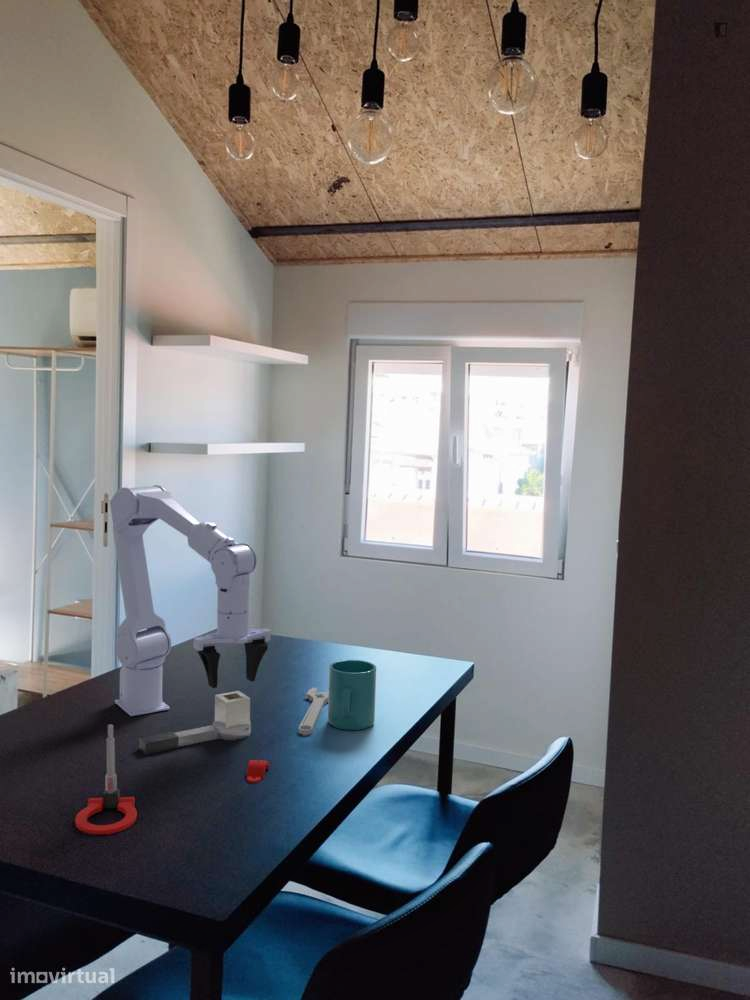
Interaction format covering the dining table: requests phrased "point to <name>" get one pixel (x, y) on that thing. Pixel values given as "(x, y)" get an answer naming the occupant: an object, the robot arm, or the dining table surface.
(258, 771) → the pipe clamp
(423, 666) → the dining table surface
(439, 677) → the dining table surface
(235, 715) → the socket
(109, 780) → the tow hook
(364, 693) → the cup
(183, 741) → the ratchet
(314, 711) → the adjustable wrench
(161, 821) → the dining table surface
